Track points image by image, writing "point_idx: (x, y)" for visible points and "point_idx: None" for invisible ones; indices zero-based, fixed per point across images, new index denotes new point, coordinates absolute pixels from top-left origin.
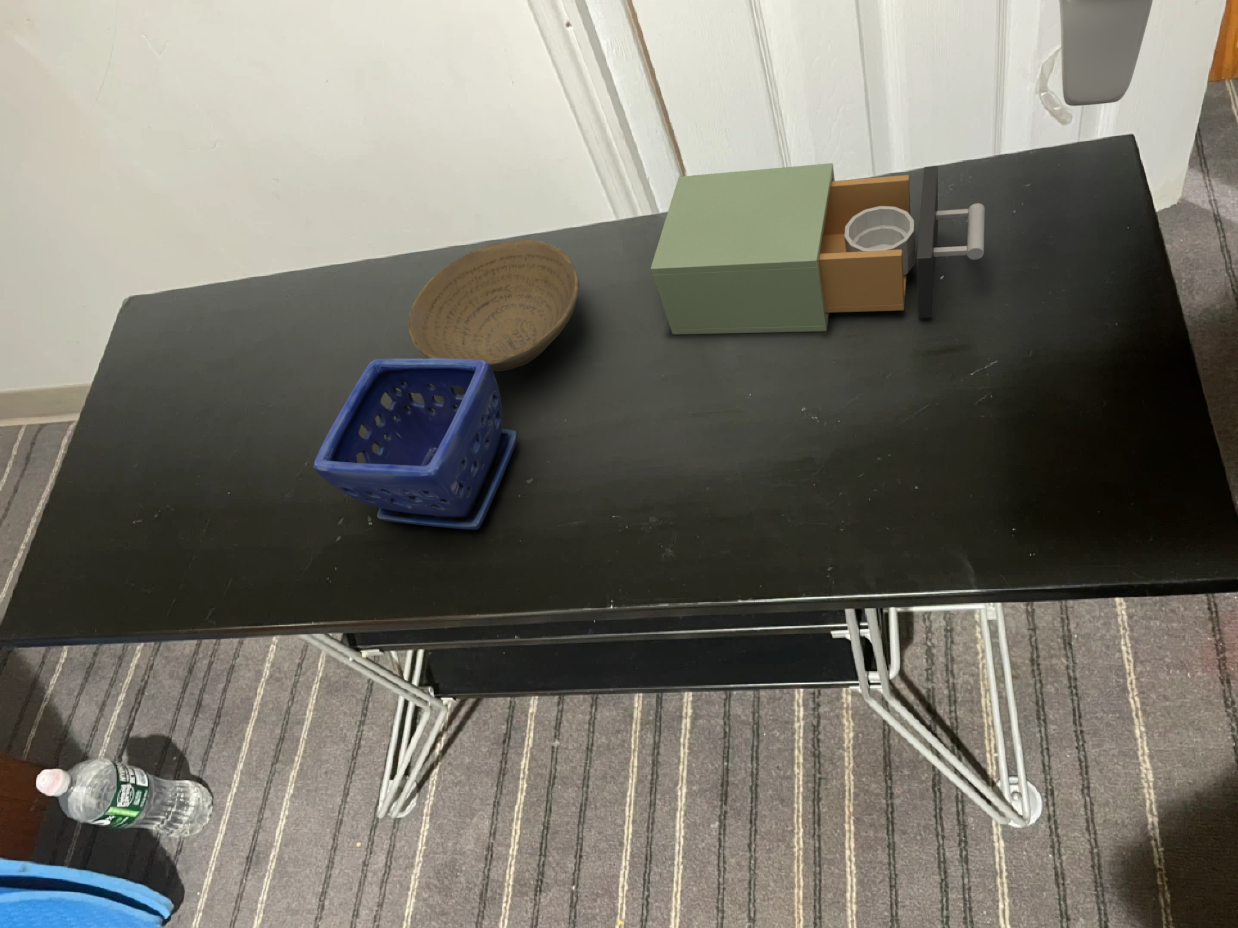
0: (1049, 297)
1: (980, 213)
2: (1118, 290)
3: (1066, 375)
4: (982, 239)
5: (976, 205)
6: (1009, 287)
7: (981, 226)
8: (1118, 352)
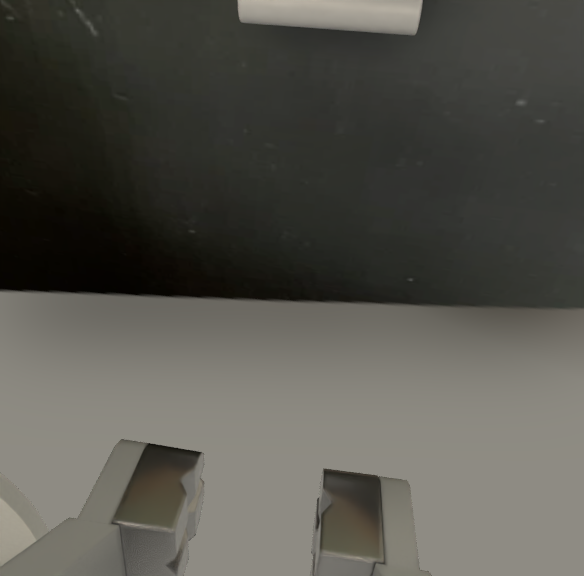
0: (257, 143)
1: (375, 21)
2: (265, 245)
3: (78, 149)
4: (278, 21)
5: (411, 11)
6: (290, 74)
7: (326, 21)
8: (134, 225)
